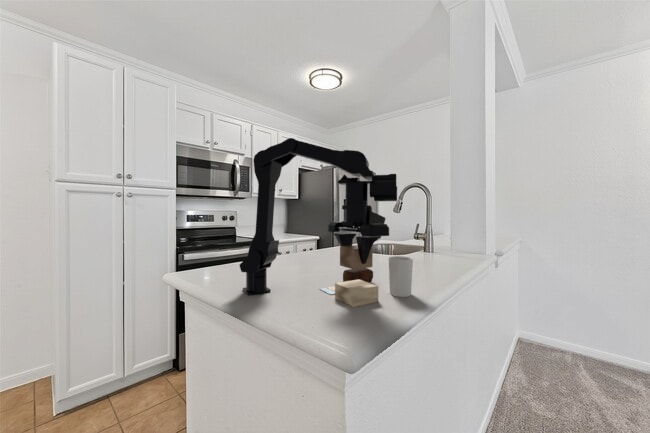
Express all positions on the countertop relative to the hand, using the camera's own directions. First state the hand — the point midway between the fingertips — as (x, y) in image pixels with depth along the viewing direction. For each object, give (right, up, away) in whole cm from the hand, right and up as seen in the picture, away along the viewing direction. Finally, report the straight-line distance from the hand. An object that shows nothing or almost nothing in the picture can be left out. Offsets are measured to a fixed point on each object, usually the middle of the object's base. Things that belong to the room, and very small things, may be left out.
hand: (356, 261), depth 71 cm
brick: (+3, -10, +16) cm, 19 cm away
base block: (0, -10, 0) cm, 10 cm away
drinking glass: (+13, -10, +6) cm, 17 cm away
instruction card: (-4, -10, +9) cm, 14 cm away
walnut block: (0, -1, 0) cm, 1 cm away
